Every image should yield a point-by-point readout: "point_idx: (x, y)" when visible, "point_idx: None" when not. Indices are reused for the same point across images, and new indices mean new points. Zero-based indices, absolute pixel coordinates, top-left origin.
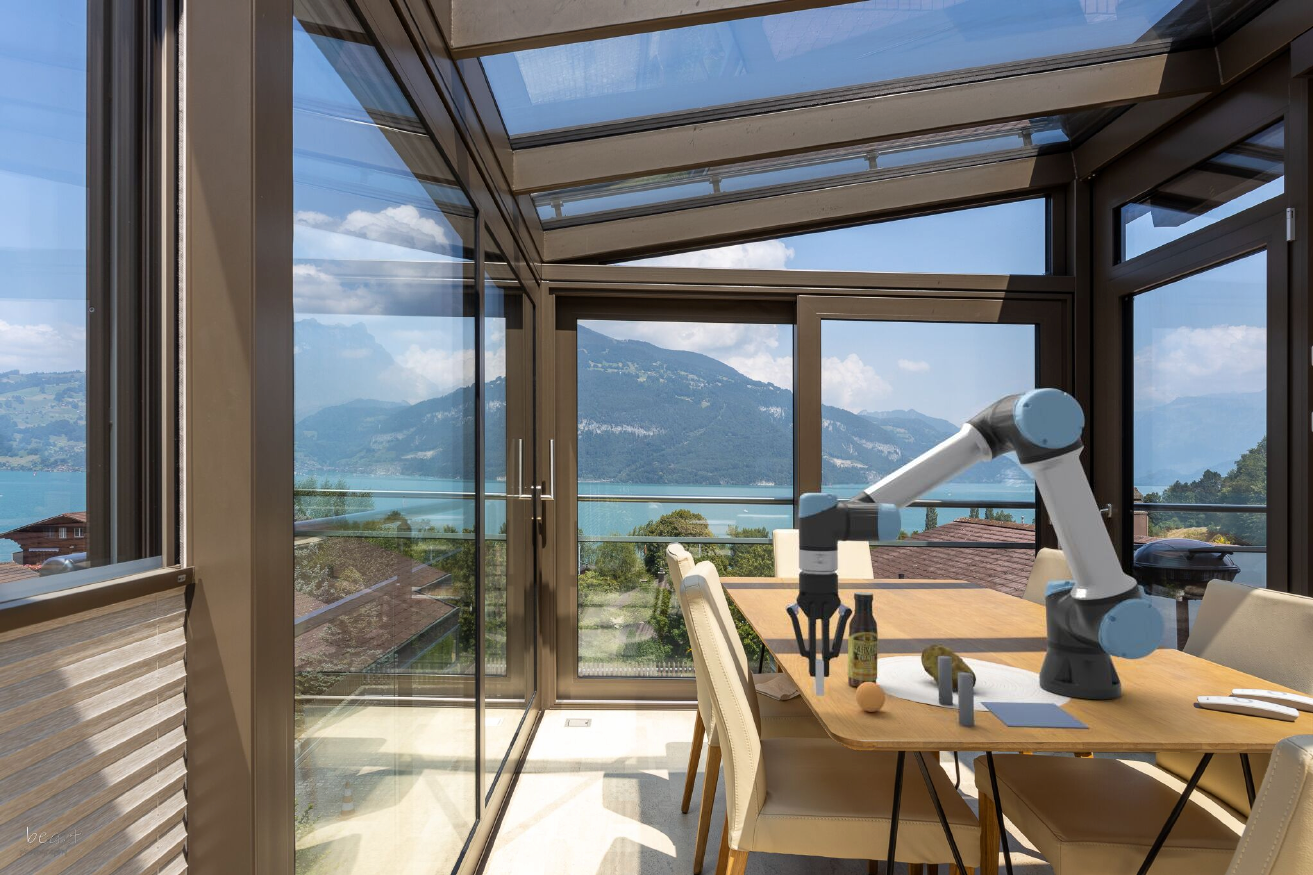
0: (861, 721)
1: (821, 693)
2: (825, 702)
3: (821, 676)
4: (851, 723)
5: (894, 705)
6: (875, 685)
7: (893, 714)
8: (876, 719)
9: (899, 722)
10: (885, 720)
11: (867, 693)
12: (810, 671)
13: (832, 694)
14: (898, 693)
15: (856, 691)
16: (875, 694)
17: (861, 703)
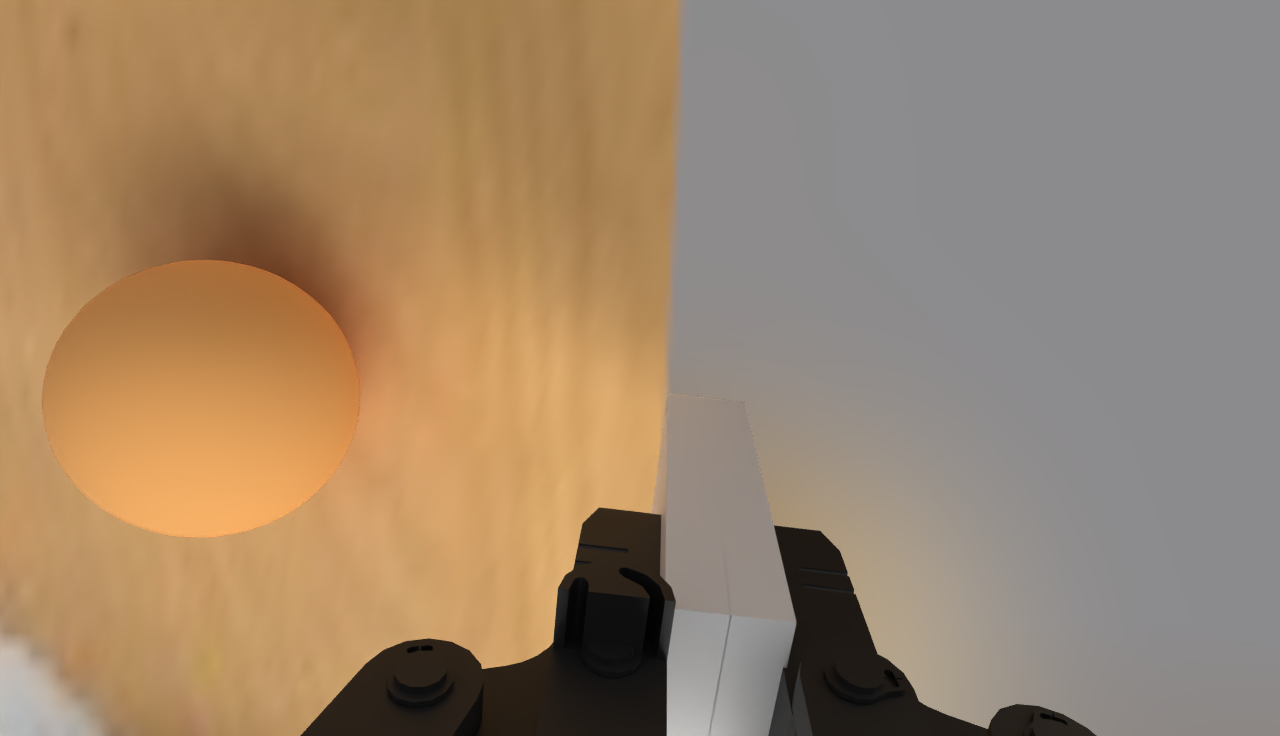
0: (400, 92)
1: (691, 404)
2: None
3: (697, 485)
4: (501, 38)
5: None
6: (80, 396)
7: (101, 267)
8: (260, 142)
9: (70, 51)
10: (186, 112)
11: (218, 309)
12: (833, 569)
13: None
14: (18, 724)
15: (323, 434)
16: (138, 289)
17: (327, 317)
